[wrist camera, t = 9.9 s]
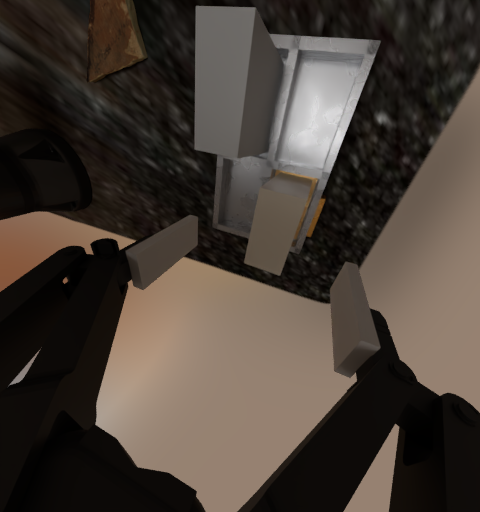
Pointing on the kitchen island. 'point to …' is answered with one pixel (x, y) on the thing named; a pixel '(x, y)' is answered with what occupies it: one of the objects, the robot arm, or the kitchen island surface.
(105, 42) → the shard
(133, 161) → the kitchen island surface
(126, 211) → the kitchen island surface
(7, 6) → the kitchen island surface
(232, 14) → the grey rectangular block
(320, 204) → the grey divided tray
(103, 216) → the kitchen island surface
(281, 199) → the grey beige block
